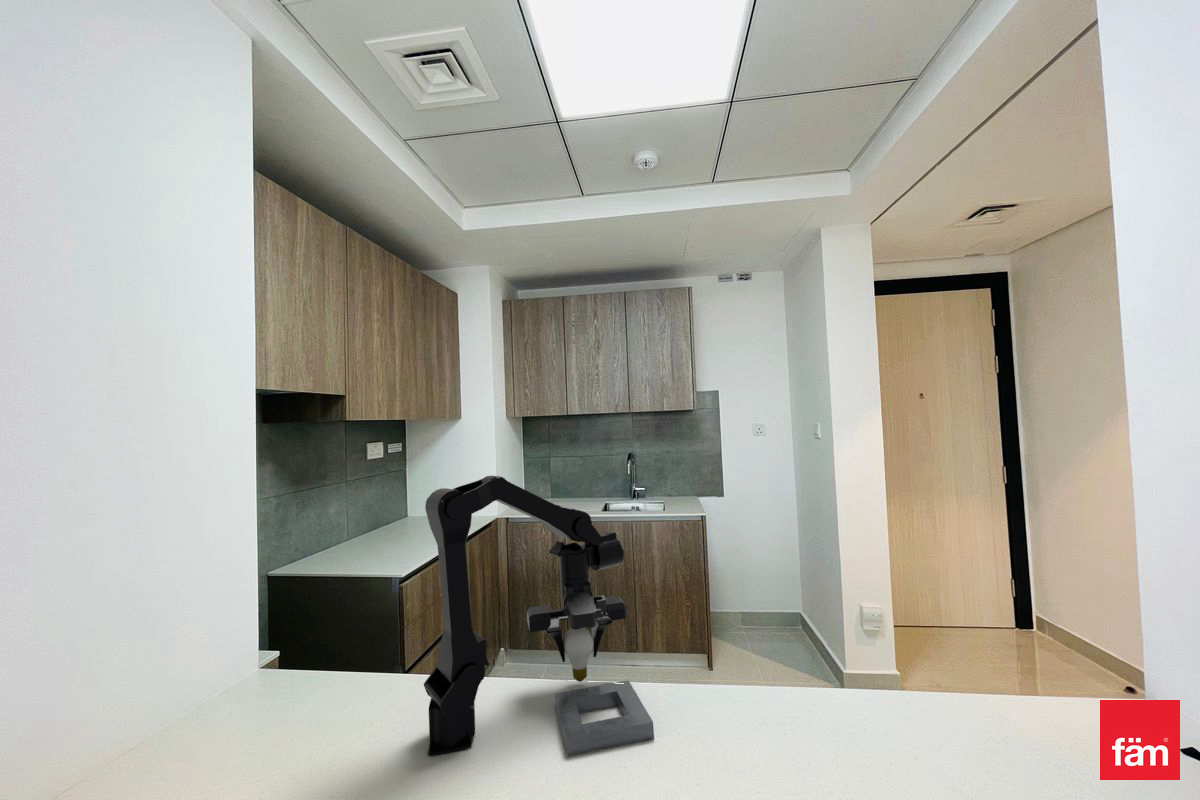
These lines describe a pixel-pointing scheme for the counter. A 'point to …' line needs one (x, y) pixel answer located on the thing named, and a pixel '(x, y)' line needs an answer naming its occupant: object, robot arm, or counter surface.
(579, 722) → the socket collar
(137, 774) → the counter surface
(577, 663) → the light bulb
